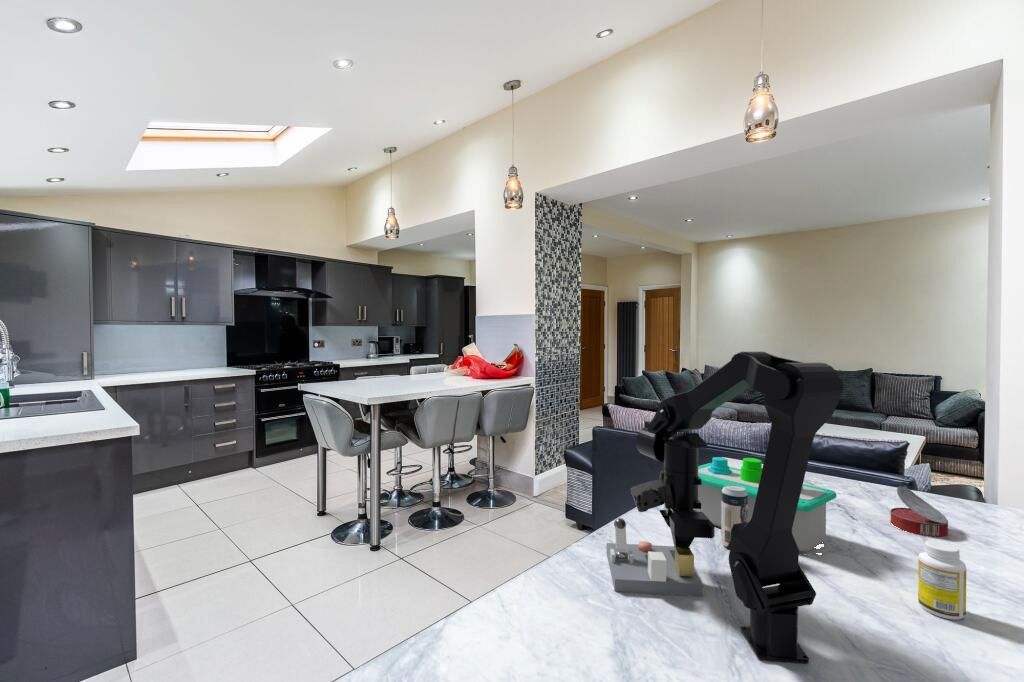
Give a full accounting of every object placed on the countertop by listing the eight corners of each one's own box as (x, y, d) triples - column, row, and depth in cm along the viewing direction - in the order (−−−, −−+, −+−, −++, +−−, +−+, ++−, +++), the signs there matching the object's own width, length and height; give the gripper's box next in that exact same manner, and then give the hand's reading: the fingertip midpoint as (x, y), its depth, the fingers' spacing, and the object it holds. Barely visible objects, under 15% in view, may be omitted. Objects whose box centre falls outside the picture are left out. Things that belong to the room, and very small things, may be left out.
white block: (666, 581, 78) (666, 560, 78) (651, 580, 78) (651, 559, 78) (662, 572, 81) (662, 552, 81) (647, 571, 81) (648, 551, 81)
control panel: (708, 438, 123) (842, 463, 99) (707, 502, 123) (841, 542, 99) (673, 446, 114) (812, 475, 90) (672, 515, 114) (811, 563, 90)
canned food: (916, 541, 111) (935, 503, 111) (952, 556, 101) (972, 514, 101) (869, 516, 112) (888, 478, 113) (899, 528, 102) (920, 487, 103)
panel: (701, 596, 78) (702, 575, 78) (614, 591, 79) (614, 570, 79) (680, 556, 92) (680, 539, 92) (606, 553, 93) (606, 535, 93)
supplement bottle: (939, 600, 77) (940, 537, 77) (976, 620, 72) (977, 553, 72) (908, 602, 77) (909, 538, 77) (942, 622, 71) (943, 554, 71)
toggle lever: (628, 559, 85) (626, 517, 88) (616, 558, 85) (614, 517, 88) (627, 560, 86) (625, 519, 90) (615, 559, 87) (613, 519, 90)
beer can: (750, 553, 94) (750, 492, 94) (724, 550, 95) (724, 490, 94) (743, 542, 98) (744, 484, 98) (718, 540, 99) (719, 483, 99)
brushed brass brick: (693, 576, 80) (694, 555, 80) (679, 575, 80) (679, 554, 80) (689, 567, 83) (689, 547, 83) (674, 567, 83) (675, 547, 83)
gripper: (627, 454, 94) (626, 533, 94) (643, 483, 76) (642, 581, 76) (685, 456, 93) (684, 536, 93) (716, 486, 74) (715, 585, 75)
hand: (679, 556), depth 84 cm, fingers closed
